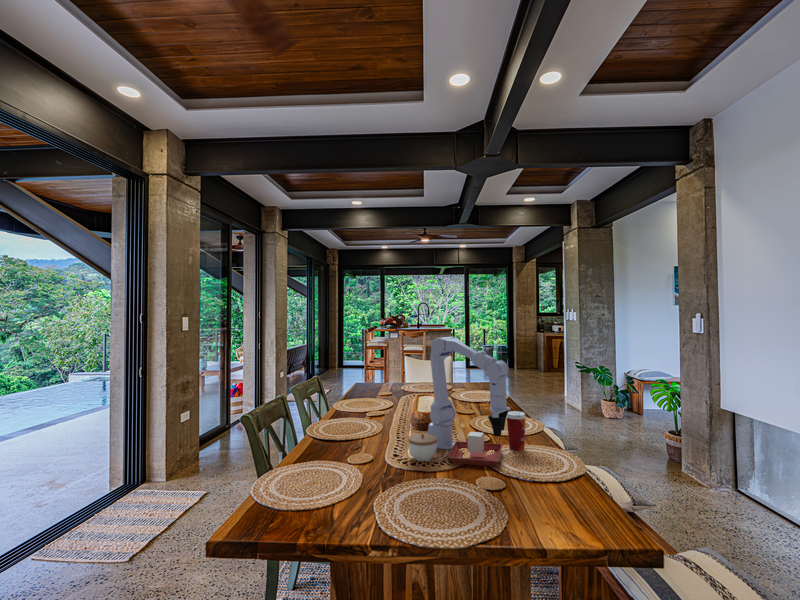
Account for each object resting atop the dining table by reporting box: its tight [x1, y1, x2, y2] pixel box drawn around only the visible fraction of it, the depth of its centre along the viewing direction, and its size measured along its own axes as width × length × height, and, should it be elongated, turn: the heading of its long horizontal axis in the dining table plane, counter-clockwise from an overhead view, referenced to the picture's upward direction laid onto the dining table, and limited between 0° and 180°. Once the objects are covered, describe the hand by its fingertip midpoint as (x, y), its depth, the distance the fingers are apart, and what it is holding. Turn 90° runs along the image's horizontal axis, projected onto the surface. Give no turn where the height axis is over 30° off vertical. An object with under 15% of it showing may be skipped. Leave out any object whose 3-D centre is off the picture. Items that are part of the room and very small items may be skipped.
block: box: [466, 431, 485, 454], centre depth 148 cm, size 5×5×6 cm
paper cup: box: [506, 410, 527, 452], centre depth 156 cm, size 8×8×14 cm
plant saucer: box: [447, 440, 503, 467], centre depth 148 cm, size 18×18×3 cm
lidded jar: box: [407, 432, 438, 462], centre depth 148 cm, size 11×11×9 cm
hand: (499, 433), depth 143 cm, fingers open, 7 cm apart
